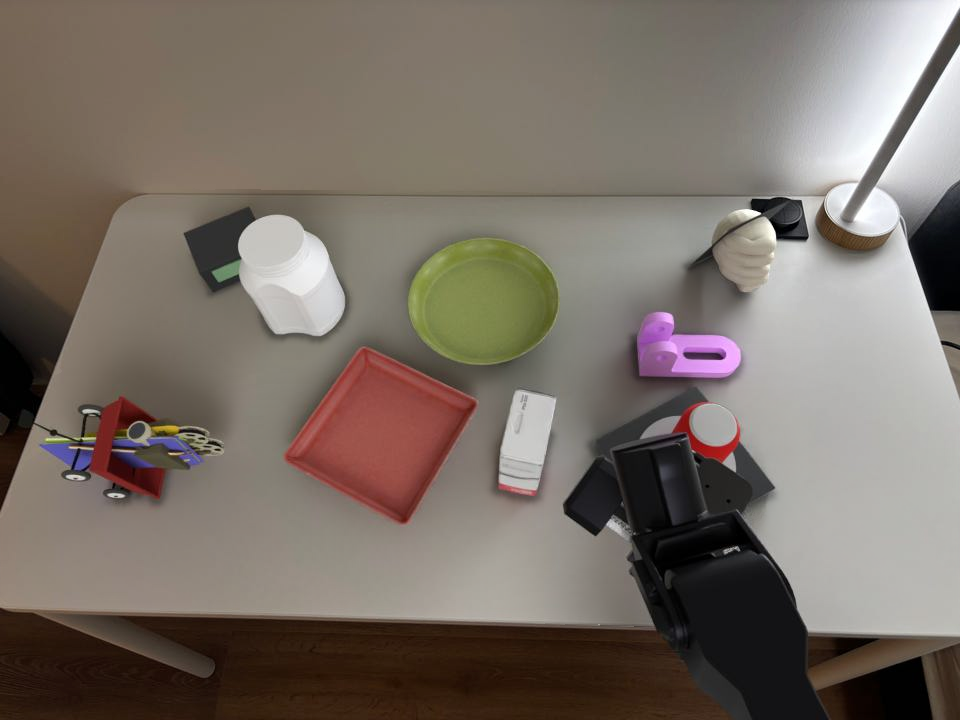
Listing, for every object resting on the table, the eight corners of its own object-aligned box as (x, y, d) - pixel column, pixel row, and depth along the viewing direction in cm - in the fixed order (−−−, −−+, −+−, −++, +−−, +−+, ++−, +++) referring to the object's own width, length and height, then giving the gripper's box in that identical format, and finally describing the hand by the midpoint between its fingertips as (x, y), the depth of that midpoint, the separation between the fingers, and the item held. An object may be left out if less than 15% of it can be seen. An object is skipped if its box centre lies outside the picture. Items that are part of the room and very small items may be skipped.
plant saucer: (366, 354, 89) (361, 343, 86) (482, 411, 84) (481, 400, 81) (287, 467, 82) (279, 458, 79) (410, 535, 77) (406, 529, 74)
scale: (769, 493, 78) (778, 485, 75) (664, 554, 75) (670, 548, 72) (692, 393, 84) (698, 383, 81) (594, 446, 81) (596, 437, 79)
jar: (350, 280, 95) (324, 211, 81) (338, 337, 90) (309, 274, 77) (274, 277, 96) (235, 208, 82) (258, 333, 91) (215, 270, 78)
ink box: (538, 498, 78) (542, 466, 68) (497, 489, 79) (495, 456, 69) (551, 433, 82) (557, 393, 72) (512, 425, 83) (512, 384, 73)
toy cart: (96, 437, 86) (241, 422, 84) (79, 507, 81) (232, 492, 80) (-7, 381, 71) (167, 361, 69) (-34, 462, 66) (151, 443, 64)
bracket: (639, 376, 86) (649, 350, 79) (636, 339, 88) (646, 311, 82) (740, 378, 85) (758, 352, 79) (734, 340, 87) (751, 313, 81)
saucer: (587, 299, 92) (590, 286, 89) (495, 404, 85) (495, 394, 82) (474, 228, 98) (473, 214, 95) (380, 320, 91) (376, 308, 88)
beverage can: (721, 480, 76) (755, 443, 65) (670, 493, 75) (696, 458, 64) (700, 432, 78) (730, 390, 68) (651, 445, 78) (673, 404, 67)
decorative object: (772, 283, 94) (715, 311, 92) (735, 223, 96) (678, 250, 94) (825, 247, 82) (761, 280, 80) (782, 179, 83) (718, 209, 81)
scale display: (278, 266, 96) (267, 245, 92) (213, 293, 95) (199, 273, 90) (260, 228, 100) (248, 206, 96) (197, 254, 98) (183, 232, 94)
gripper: (851, 558, 48) (788, 515, 63) (636, 411, 51) (626, 404, 66) (760, 678, 49) (720, 607, 64) (554, 525, 52) (563, 492, 67)
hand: (658, 524), depth 65 cm, fingers open, 9 cm apart
